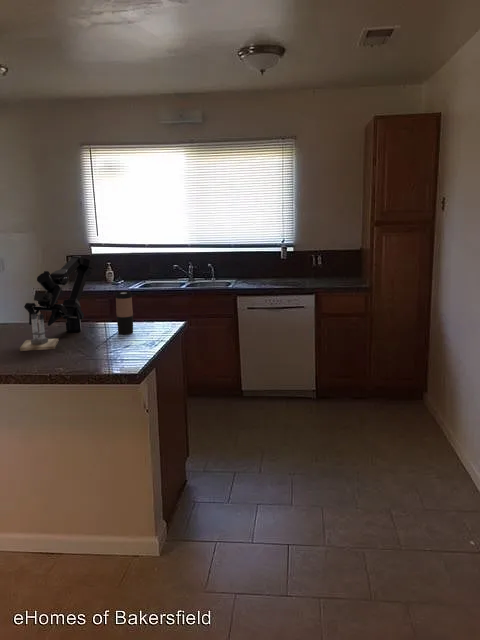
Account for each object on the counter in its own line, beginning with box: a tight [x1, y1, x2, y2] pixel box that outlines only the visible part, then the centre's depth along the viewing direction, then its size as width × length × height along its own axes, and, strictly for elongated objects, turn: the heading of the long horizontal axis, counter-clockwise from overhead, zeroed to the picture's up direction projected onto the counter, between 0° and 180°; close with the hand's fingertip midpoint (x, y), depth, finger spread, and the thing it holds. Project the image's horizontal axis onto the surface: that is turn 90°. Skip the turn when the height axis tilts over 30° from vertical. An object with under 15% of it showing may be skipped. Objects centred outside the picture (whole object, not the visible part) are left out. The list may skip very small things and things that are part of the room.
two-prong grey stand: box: [30, 313, 49, 345], centre depth 232 cm, size 5×5×13 cm
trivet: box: [19, 338, 59, 352], centre depth 234 cm, size 14×14×1 cm
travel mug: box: [115, 290, 134, 336], centre depth 254 cm, size 8×8×20 cm
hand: (39, 325), depth 232 cm, fingers open, 9 cm apart
